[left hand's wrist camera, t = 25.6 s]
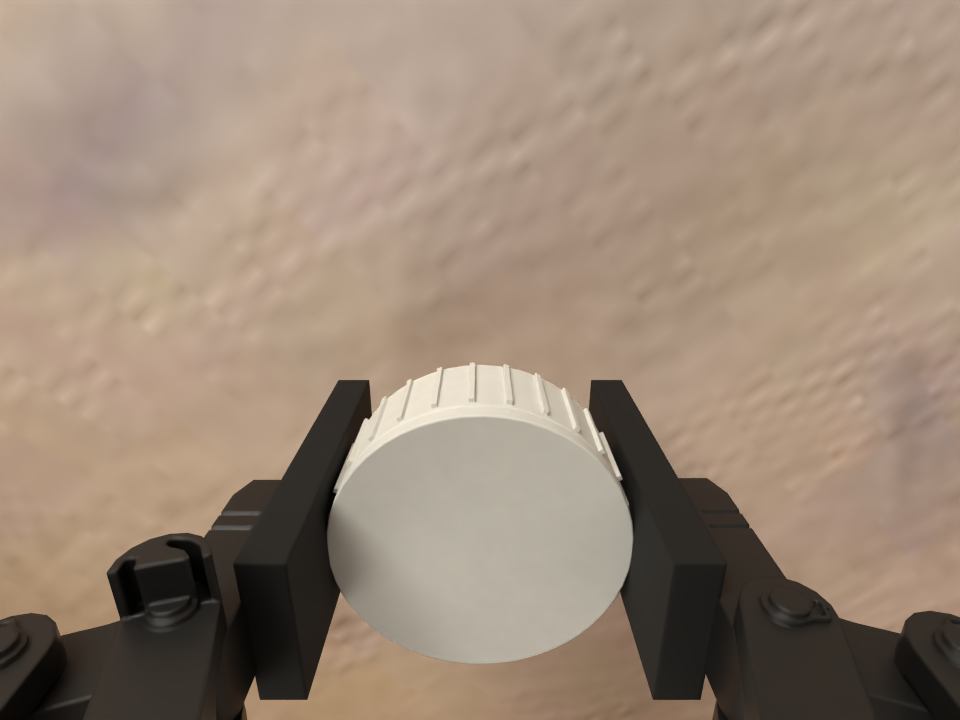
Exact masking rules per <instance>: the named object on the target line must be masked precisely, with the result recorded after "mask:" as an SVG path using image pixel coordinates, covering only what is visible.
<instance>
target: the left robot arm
mask: <svg viewBox="0 0 960 720" xmlns="http://www.w3.org/2000/svg"><path fill="white" fill-rule="evenodd" d="M589 411H590V414H591V416H592V419H593V421H594V424H595V426H596V428H597V430H598V432H599V433H600V432H603V433H604V435H605V438H606V440H607V442H608V445H609V447H610V450H611V452H612V455H613V457H614V459H615V462H616V464H617V467H618V469H619V471H620V474H621V476H622V479H623V480H620V483H621V486H622V488H623V491H624V493H625V495H626V498H627V500H628V503H629V510H630V514H631V518H632V522H633V533H634V538H633V547H632V556H631V563H630V568H629V572H628V574H627V577H626V579H625V582H624V584H623V586H622V588H621V590H620V593H621V596H622V600H623V603H624V606H625V609H626V613H627V616H628V619H629V622H630V626H631V629H632V632H633V636H634V639H635V642H636V645H637V649H638V652H639V655H640V658H641V662H642V665H643V668H644V671H645V675H646V678H647V681H648V685H649V688H650V691H651V694H652V698H653V700H700V699H701V694H702V689H703V684H704V679H705V674H706V675H707V678H708V680H709V683H710V685H711V687H712V690H713V692H714V695H715V697H716V699H717V700H716V705H715V709H714V714H713V719H712V720H960V617H957V616H954V615H952V614H947V613H940V612H934V611H926V612H918V613H914V614H913V615H911V616H910V617H909V618H908V619H907V620H906V621H905V623H904V626H903V629H902V632H901V634H900V633H895V632H891V631H887V630H883V629H879V628H874V627H870V626H866V625H862V624H857V623H854V622H850V621H847V620H844V619H841V618H839V617H838V615H837V614H836V612H835V610H834V609H833V607H832V606H831V604H829V603H828V602H827V601H826V600H825V599H824V598H822V597H821V596H820V595H819V594H818V593H817V592H815V591H813V590H811V589H809V588H808V587H806V586H804V585H802V584H800V583H798V582H795V581H791V580H788V579H786V577H785V576H784V575H783V573H782V572H781V570H780V569H779V567H778V566H777V564H776V563H775V561H774V560H773V559H772V557H771V556H770V554H769V553H768V551H767V550H766V548H765V547H764V546H763V544H762V543H761V541H760V540H759V538H758V537H757V535H756V534H755V532H754V531H753V530H752V528H749V524H748V522H747V521H746V519H745V518H744V517H743V515H742V514H740V513H739V509H738V508H737V506H736V505H735V504H734V502H733V501H732V499H731V498H730V496H729V495H728V493H726V492H725V491H724V490H722V489H721V488H720V487H718V486H717V485H715V484H714V483H713V482H711V481H710V480H709V479H707V478H678V477H677V476H676V474H675V472H674V470H673V469H672V467H671V465H670V463H669V462H668V460H667V458H666V456H665V455H664V453H663V451H662V449H661V448H660V446H659V444H658V443H657V441H656V439H655V437H654V436H653V434H652V432H651V430H650V429H649V427H648V425H647V423H646V422H645V420H644V418H643V417H642V415H641V413H640V411H639V410H638V408H637V406H636V404H635V403H634V401H633V399H632V397H631V396H630V394H629V392H628V391H627V389H626V387H625V385H624V384H623V382H622V380H591V390H590V403H589ZM371 416H372V411H371V398H370V386H369V380H339V381H338V382H337V384H336V386H335V388H334V389H333V391H332V393H331V395H330V396H329V398H328V400H327V402H326V403H325V405H324V407H323V408H322V410H321V412H320V414H319V415H318V417H317V419H316V421H315V422H314V424H313V426H312V428H311V429H310V431H309V433H308V435H307V436H306V438H305V440H304V441H303V443H302V445H301V447H300V448H299V450H298V452H297V454H296V455H295V457H294V459H293V461H292V462H291V464H290V466H289V467H288V469H287V471H286V473H285V474H284V476H283V478H282V480H253V481H252V482H250V483H249V484H248V485H246V486H245V487H243V488H242V489H241V490H239V491H238V492H237V493H235V494H234V495H233V496H232V498H231V499H230V501H229V502H228V503H227V505H226V506H225V508H224V509H223V511H222V514H221V516H219V517H218V518H217V520H216V521H215V522H214V524H213V525H212V529H211V530H209V531H208V533H207V534H206V536H205V537H204V538H203V537H202V536H198V535H194V534H190V533H179V534H168V535H164V536H160V537H157V538H153V539H150V540H148V541H146V542H143V543H141V544H139V545H137V546H135V547H133V548H131V549H130V550H129V551H127V552H126V553H125V554H123V555H122V556H121V557H119V558H118V559H117V560H116V561H115V562H114V563H113V565H112V566H111V568H110V569H109V570H108V572H107V576H108V580H109V583H110V586H111V589H112V593H113V596H114V599H115V603H116V606H117V609H118V613H119V616H120V621H118V622H114V623H111V624H108V625H104V626H100V627H96V628H92V629H87V630H83V631H79V632H75V633H71V634H66V635H62V636H60V633H59V630H58V628H57V625H56V623H55V622H54V621H53V620H52V619H51V618H50V617H48V616H47V615H41V614H34V613H29V614H23V615H17V616H10V617H8V618H5V619H2V620H0V720H247V715H246V709H245V705H244V701H245V698H246V696H247V694H248V691H249V689H250V686H251V684H252V682H253V679H254V677H256V682H257V687H258V692H259V697H260V700H307V699H308V695H309V692H310V689H311V686H312V682H313V679H314V676H315V673H316V669H317V666H318V663H319V660H320V656H321V653H322V650H323V646H324V643H325V640H326V637H327V633H328V630H329V627H330V624H331V620H332V617H333V614H334V610H335V607H336V604H337V601H338V597H339V594H340V589H339V587H338V585H337V583H336V581H335V578H334V575H333V573H332V570H331V567H330V560H329V552H328V544H327V526H328V520H329V514H330V511H331V508H332V505H333V502H334V499H335V496H336V494H337V493H333V490H334V487H335V485H336V482H337V480H338V478H339V475H340V473H341V470H342V468H343V465H344V463H345V461H346V458H347V456H348V453H349V451H350V449H351V446H352V444H353V443H355V441H356V438H357V436H358V433H359V431H360V428H361V426H362V424H363V421H364V420H365V418H367V419H368V420H369V419H370V418H371Z"/></svg>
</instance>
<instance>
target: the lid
mask: <svg viewBox="0 0 960 720" xmlns="http://www.w3.org/2000/svg"><path fill="white" fill-rule="evenodd" d="M620 480H623V479H622V476H621V474H620V471H619V469H618V467H617V464H616V462H615V459H614V457H613V455H612V452H611V450H610V447H609V445H608V442H607V440H606V438H605V435H604V433H603V432H600V433H599V432H598V430H597V428H596V426H595V424H594V421H593V419H592V416H591V414H590V411H589V410H588V409H587V408H585V409H584V410H583V408H582V407H581V406H580V405H579V404H578V403H577V402H576V401H575V400H574V399H572V398H571V397H570V396H569V393H568V390H567V389H565V388H563V389H562V390H561V389H559V388H558V387H556V386H555V385H553V384H552V383H550V382H548V381H546V380H544V379H542V378H541V376H540V374H538V373H535V375H532V374H529V373H526V372H523V371H520V370H516V369H512V368H509V365H506V364H503V367H502V366H490V365H475V362H473V363H470V365H469V366H460V367H454V368H448V369H444V370H443V368H442V367H440V368H437V372H434V373H430V374H428V375H426V376H423V377H421V378H419V379H416V380H414V381H413V380H412V379H410V380H408V381H407V384H406V386H404V387H402V388H401V389H399V390H398V391H396V392H395V393H394V394H393V395H392V396H390V397H389V398H387V397H386V396H385V397H384V398H383V399H382V401H381V404H380V406H379V408H378V409H377V410H376V411H375V412H374V413H373V415H372V416H371V418H370V419H369V420H368V419H367V418H365V420H364V421H363V424H362V426H361V428H360V431H359V433H358V436H357V438H356V441H355V443H353V444H352V446H351V449H350V451H349V453H348V456H347V458H346V461H345V463H344V465H343V468H342V470H341V473H340V475H339V478H338V480H337V482H336V485H335V487H334V490H333V493H337V494H336V496H335V499H334V502H333V505H332V508H331V511H330V514H329V520H328V526H327V544H328V552H329V560H330V567H331V570H332V573H333V575H334V578H335V581H336V583H337V585H338V587H339V589H340V591H341V593H342V595H343V596H344V598H345V599H346V600H347V602H348V603H349V605H350V606H351V607H352V609H353V610H354V611H355V612H356V613H357V614H358V615H359V616H360V617H361V618H362V619H363V620H364V621H365V622H366V623H367V624H368V625H369V626H371V627H372V628H373V629H374V630H375V631H377V632H378V633H380V634H381V635H383V636H384V637H386V638H387V639H389V640H390V641H392V642H394V643H396V644H398V645H400V646H402V647H404V648H406V649H408V650H411V651H413V652H416V653H419V654H421V655H424V656H428V657H431V658H435V659H439V660H444V661H450V662H456V663H467V664H496V663H504V662H511V661H517V660H521V659H525V658H530V657H533V656H536V655H539V654H542V653H545V652H548V651H550V650H552V649H554V648H556V647H559V646H561V645H563V644H565V643H567V642H568V641H570V640H572V639H573V638H575V637H577V636H578V635H580V634H581V633H582V632H584V631H585V630H586V629H587V628H589V627H590V626H591V625H593V624H594V623H595V622H596V621H597V620H598V619H599V618H600V617H601V616H602V615H603V614H604V613H605V612H606V610H607V609H608V608H609V606H610V605H611V604H612V603H613V601H614V600H615V598H616V597H617V595H618V593H619V591H620V590H621V588H622V586H623V584H624V582H625V579H626V577H627V574H628V572H629V568H630V563H631V556H632V547H633V538H634V533H633V522H632V518H631V514H630V510H629V503H628V500H627V498H626V495H625V493H624V491H623V488H622V486H621V483H620Z"/></svg>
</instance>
